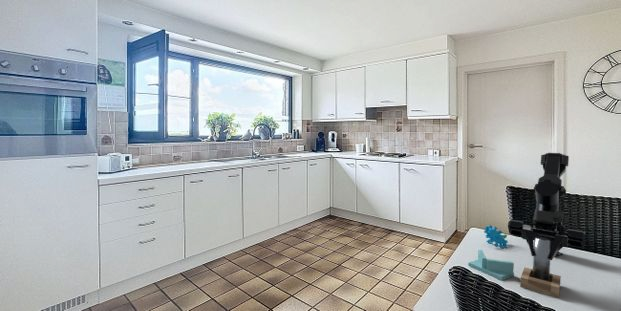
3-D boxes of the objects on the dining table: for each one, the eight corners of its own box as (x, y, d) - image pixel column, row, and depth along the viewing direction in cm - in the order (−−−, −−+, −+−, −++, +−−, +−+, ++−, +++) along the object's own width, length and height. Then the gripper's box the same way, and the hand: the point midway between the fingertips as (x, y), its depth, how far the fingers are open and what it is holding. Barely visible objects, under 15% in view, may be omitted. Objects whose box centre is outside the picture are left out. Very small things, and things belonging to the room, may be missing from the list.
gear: (493, 246, 117) (482, 223, 124) (483, 252, 121) (472, 230, 128) (515, 247, 120) (502, 225, 127) (504, 253, 124) (492, 231, 131)
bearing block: (524, 276, 96) (524, 267, 96) (560, 285, 90) (560, 276, 90) (520, 286, 90) (520, 277, 90) (558, 297, 84) (559, 287, 83)
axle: (538, 273, 93) (540, 235, 92) (552, 279, 89) (554, 240, 88) (529, 275, 92) (531, 237, 91) (543, 281, 88) (545, 242, 87)
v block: (479, 261, 107) (480, 249, 107) (515, 276, 96) (515, 262, 96) (467, 265, 104) (467, 252, 104) (502, 281, 93) (503, 266, 93)
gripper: (509, 195, 98) (502, 237, 90) (587, 204, 85) (585, 253, 78) (512, 213, 104) (505, 254, 97) (585, 224, 91) (583, 271, 84)
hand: (541, 257), depth 89 cm, fingers closed on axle, 4 cm apart
